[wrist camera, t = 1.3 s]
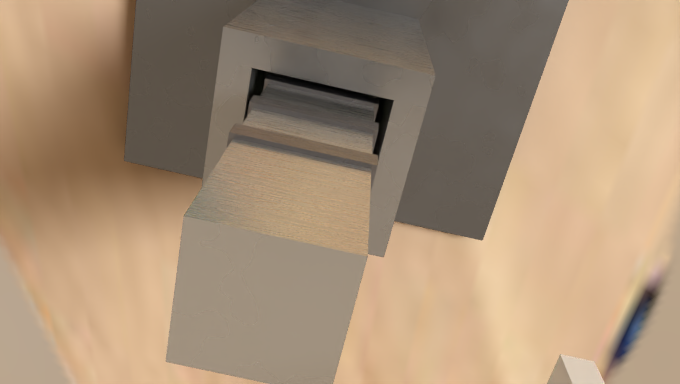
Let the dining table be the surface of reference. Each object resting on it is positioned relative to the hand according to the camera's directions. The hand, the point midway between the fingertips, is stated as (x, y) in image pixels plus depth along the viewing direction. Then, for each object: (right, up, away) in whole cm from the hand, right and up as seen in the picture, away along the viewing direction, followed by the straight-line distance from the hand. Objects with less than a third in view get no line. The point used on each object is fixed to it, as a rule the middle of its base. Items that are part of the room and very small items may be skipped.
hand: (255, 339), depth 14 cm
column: (+1, +10, +20) cm, 23 cm away
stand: (+2, +10, +22) cm, 24 cm away
